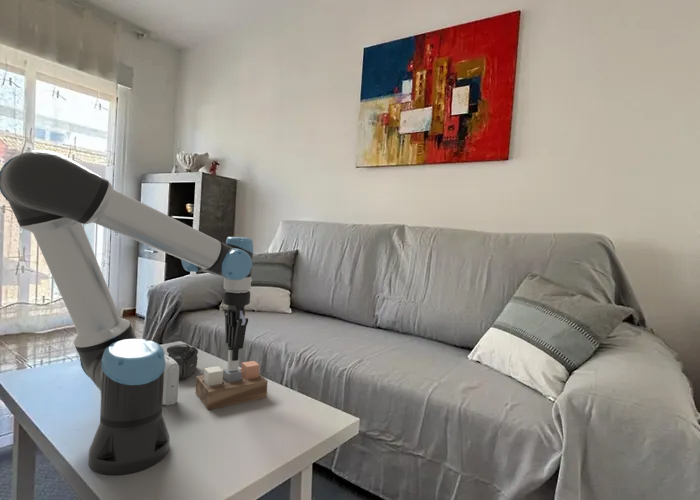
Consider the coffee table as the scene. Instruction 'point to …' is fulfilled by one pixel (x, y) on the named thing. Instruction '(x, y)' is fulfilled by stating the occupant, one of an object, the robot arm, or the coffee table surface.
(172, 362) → the photo printer
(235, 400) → the wooden block tray
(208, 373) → the cream short block
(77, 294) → the robot arm
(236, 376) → the slate key
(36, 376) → the coffee table surface
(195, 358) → the camera
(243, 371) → the terracotta key
